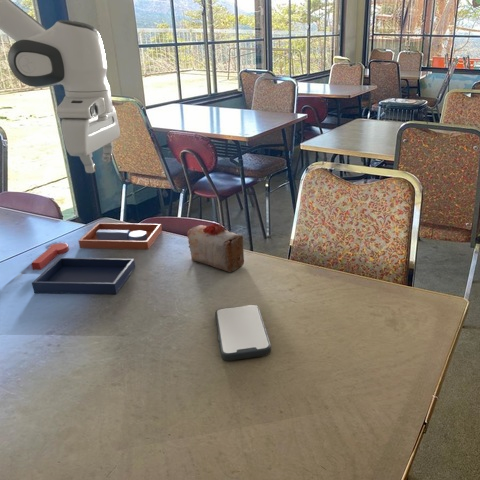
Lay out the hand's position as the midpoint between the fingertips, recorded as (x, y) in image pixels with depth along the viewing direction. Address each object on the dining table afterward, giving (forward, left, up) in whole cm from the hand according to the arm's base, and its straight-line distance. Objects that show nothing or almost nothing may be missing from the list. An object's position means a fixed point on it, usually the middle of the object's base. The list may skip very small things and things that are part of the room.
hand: (100, 166), depth 109 cm
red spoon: (-15, -2, -23) cm, 27 cm away
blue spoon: (-2, +10, -22) cm, 25 cm away
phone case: (+35, -32, -23) cm, 53 cm away
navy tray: (-2, -12, -23) cm, 26 cm away
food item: (+25, -2, -23) cm, 34 cm away
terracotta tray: (-2, +10, -23) cm, 25 cm away
